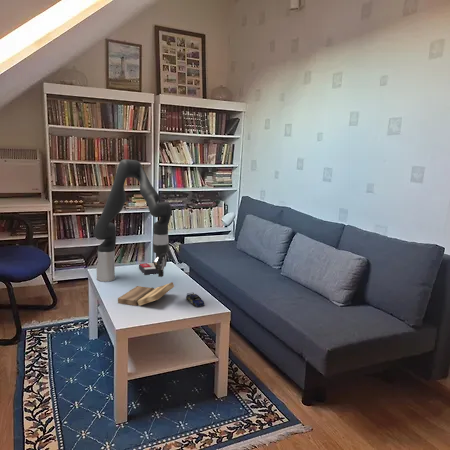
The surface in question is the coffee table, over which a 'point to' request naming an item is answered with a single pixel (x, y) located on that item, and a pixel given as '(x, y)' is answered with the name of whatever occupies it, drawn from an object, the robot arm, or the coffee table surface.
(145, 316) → the coffee table surface
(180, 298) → the coffee table surface
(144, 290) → the floor board
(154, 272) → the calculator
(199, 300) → the race car
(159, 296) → the plank
